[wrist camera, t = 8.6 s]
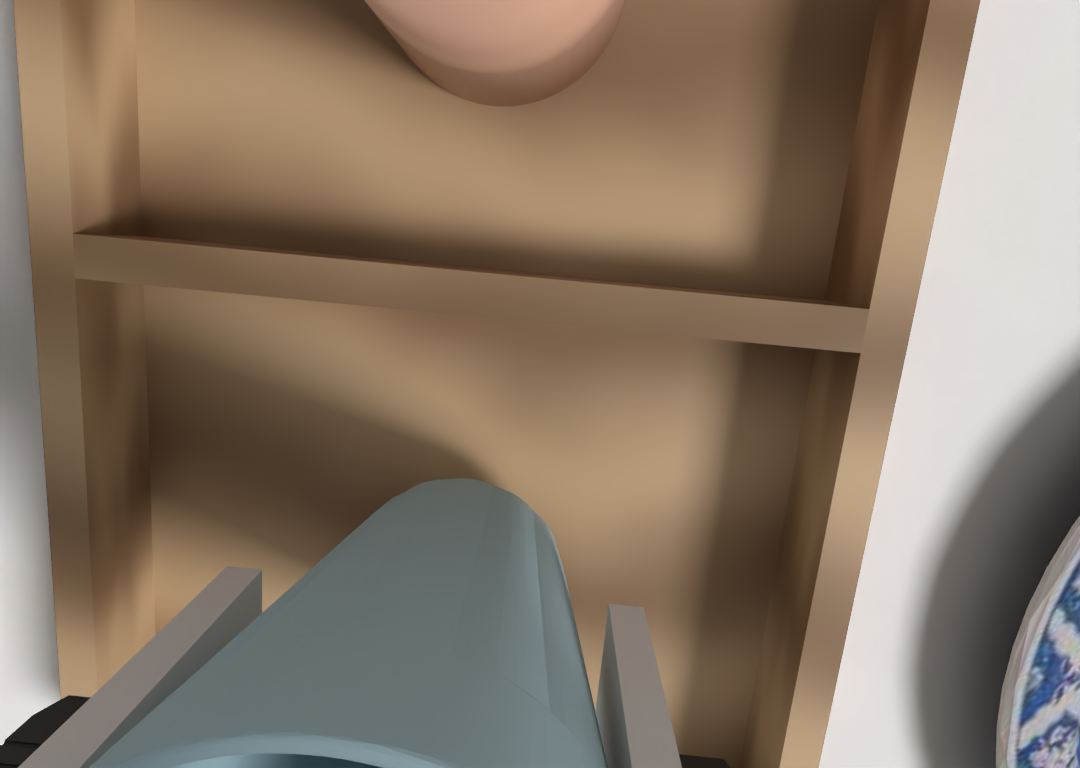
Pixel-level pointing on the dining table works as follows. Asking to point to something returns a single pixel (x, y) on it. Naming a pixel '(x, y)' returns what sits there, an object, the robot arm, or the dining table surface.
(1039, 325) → the dining table surface
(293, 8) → the divided wooden tray
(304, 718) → the cup
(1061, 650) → the ceramic plate
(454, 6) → the tan rounded piece
